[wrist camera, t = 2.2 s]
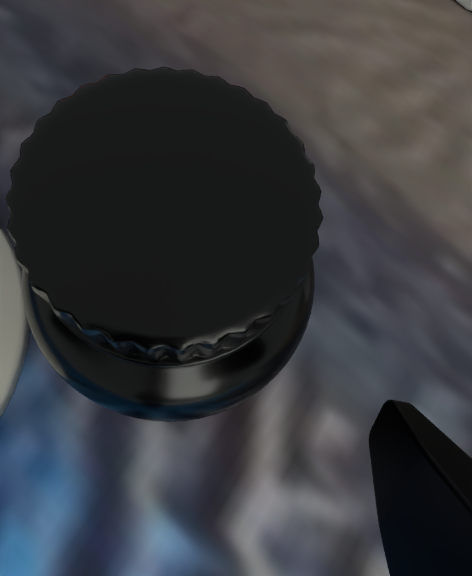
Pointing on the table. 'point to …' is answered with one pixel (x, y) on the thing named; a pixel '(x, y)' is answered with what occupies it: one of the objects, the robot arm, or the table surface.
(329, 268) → the table surface
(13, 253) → the saucer
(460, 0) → the bottle
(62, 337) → the supplement bottle
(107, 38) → the table surface
